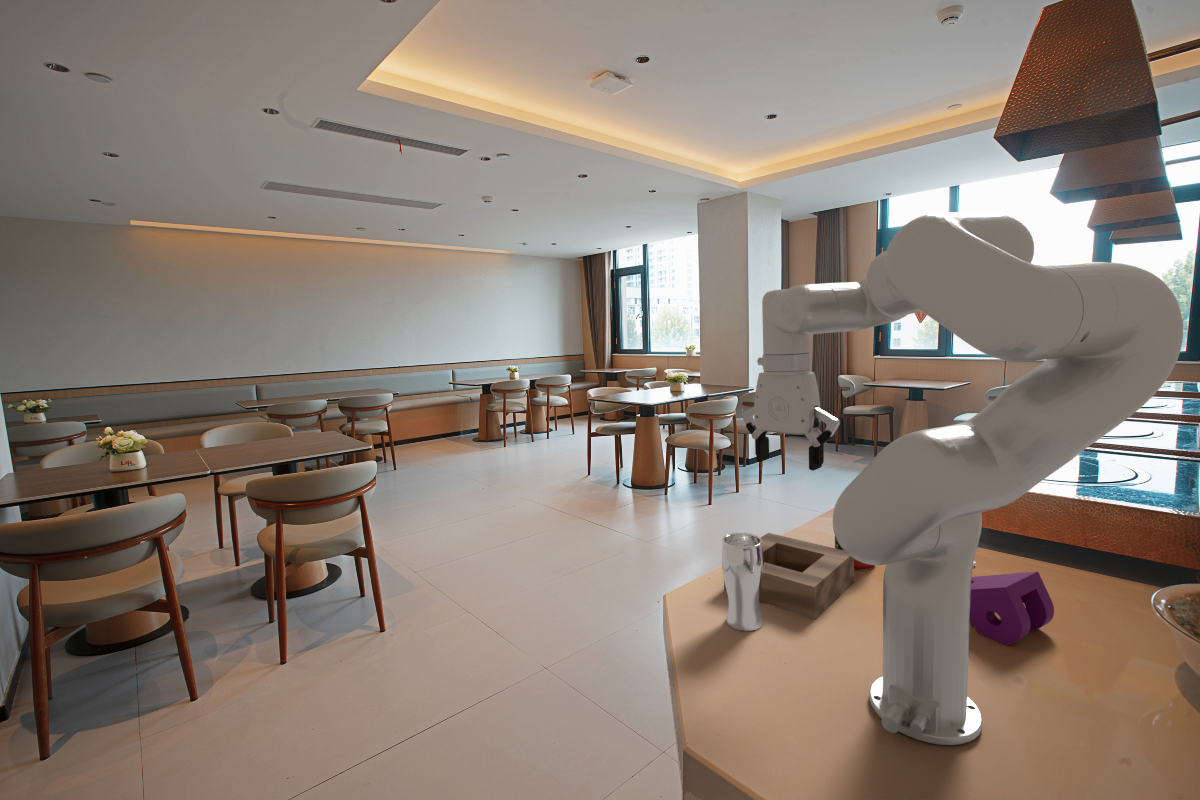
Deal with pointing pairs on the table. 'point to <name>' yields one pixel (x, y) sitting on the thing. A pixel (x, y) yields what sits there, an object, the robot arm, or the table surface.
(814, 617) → the walnut well
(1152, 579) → the table surface
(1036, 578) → the mounting bracket
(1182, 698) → the table surface
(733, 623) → the silver metal cup
